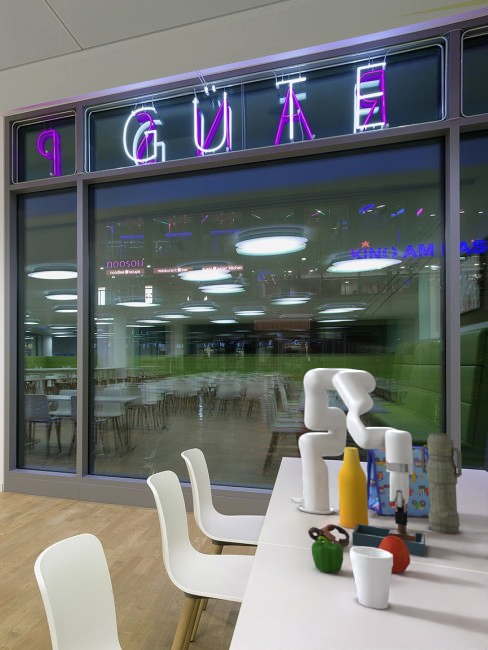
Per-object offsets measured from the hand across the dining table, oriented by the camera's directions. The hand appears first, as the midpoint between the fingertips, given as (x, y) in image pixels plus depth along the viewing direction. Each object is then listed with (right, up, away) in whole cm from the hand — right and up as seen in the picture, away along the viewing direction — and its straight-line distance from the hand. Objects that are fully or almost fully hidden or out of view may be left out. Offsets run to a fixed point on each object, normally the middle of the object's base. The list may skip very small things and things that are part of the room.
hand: (401, 522), depth 201 cm
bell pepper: (-38, -7, -22) cm, 44 cm away
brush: (0, -7, -1) cm, 7 cm away
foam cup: (-39, -5, -46) cm, 61 cm away
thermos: (+28, -9, +18) cm, 35 cm away
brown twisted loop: (-25, -8, -1) cm, 26 cm away
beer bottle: (-2, -9, +23) cm, 25 cm away
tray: (-4, -8, +1) cm, 9 cm away
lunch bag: (+29, -11, +42) cm, 52 cm away
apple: (-18, -7, -23) cm, 30 cm away
